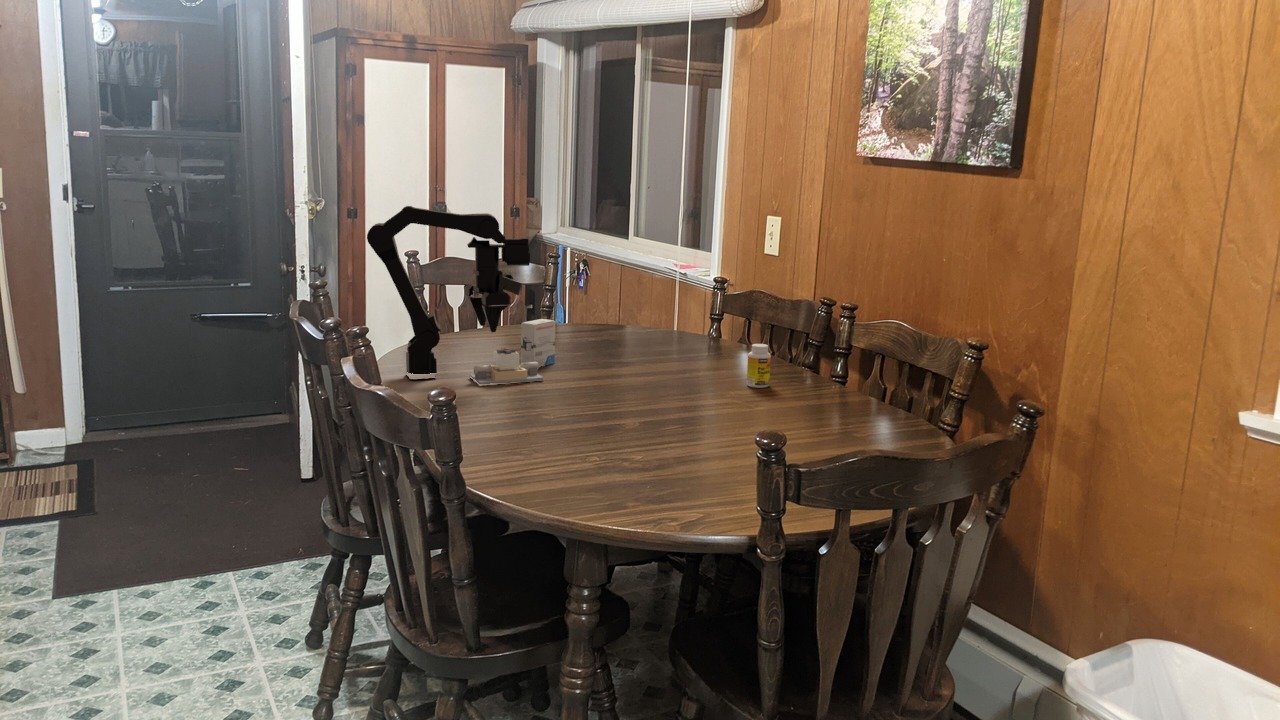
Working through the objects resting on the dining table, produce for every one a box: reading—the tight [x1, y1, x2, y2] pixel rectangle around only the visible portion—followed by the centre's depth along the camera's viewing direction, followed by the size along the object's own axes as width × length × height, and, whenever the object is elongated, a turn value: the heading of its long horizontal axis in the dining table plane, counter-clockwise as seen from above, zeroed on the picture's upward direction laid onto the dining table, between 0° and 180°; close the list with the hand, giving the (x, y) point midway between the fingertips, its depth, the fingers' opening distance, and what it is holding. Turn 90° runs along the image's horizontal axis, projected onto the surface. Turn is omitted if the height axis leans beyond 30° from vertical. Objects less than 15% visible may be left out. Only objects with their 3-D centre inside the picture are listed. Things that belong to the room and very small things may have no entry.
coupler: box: [492, 347, 520, 372], centre depth 245 cm, size 5×5×7 cm
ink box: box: [520, 318, 556, 367], centre depth 262 cm, size 9×5×12 cm, turn 143°
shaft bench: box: [469, 362, 544, 384], centre depth 246 cm, size 16×9×4 cm, turn 115°
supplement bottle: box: [746, 343, 772, 389], centre depth 245 cm, size 6×6×10 cm
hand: (487, 328), depth 247 cm, fingers open, 9 cm apart
